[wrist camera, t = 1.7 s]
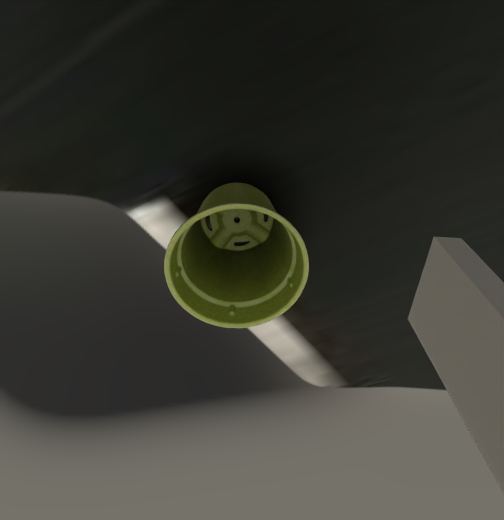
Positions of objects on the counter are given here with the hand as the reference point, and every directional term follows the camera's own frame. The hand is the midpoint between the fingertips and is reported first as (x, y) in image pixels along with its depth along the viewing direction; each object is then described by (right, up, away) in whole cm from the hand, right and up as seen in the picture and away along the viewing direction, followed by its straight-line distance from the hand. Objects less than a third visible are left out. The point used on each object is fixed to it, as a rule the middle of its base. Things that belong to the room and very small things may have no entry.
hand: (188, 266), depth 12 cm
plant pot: (0, +4, +25) cm, 25 cm away
